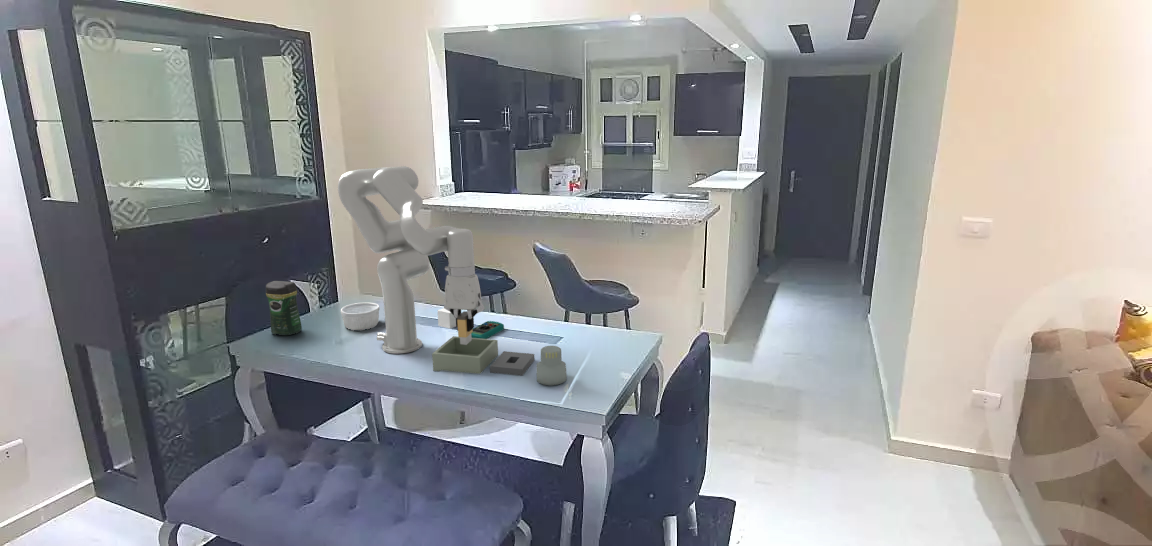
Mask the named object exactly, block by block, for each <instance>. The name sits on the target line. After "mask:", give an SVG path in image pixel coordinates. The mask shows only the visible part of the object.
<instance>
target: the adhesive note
mask: <svg viewBox="0 0 1152 546" xmlns="http://www.w3.org/2000/svg"><path fill="white" fill-rule="evenodd" d="M437 324H438V326H437V327H442V328H446V329H453V328H455V327H456V318H454V315H453V314H452V313H451V312H450V311H448V310H446V309H444V307H443V308H439V309H437ZM456 328H457V327H456Z"/></svg>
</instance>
